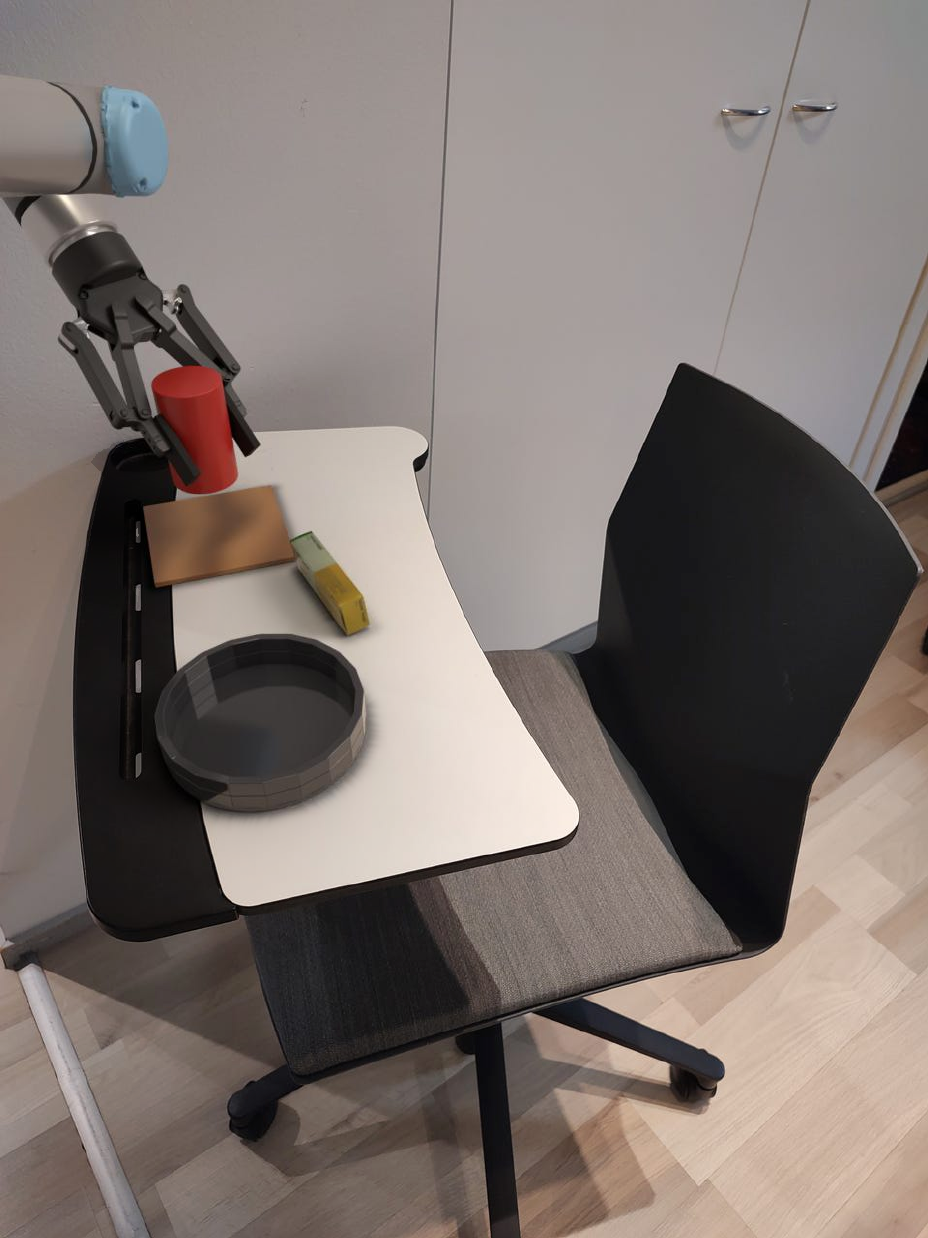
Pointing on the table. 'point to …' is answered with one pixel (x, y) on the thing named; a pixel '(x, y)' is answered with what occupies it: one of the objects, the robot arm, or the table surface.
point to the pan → (261, 722)
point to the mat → (216, 535)
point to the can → (198, 425)
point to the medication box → (330, 582)
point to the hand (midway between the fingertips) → (223, 464)
